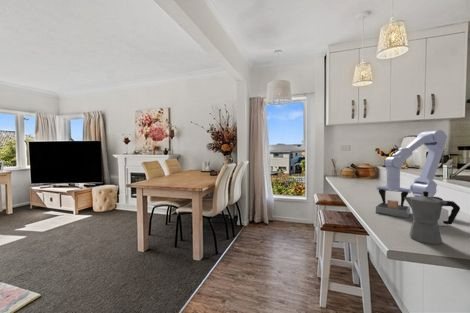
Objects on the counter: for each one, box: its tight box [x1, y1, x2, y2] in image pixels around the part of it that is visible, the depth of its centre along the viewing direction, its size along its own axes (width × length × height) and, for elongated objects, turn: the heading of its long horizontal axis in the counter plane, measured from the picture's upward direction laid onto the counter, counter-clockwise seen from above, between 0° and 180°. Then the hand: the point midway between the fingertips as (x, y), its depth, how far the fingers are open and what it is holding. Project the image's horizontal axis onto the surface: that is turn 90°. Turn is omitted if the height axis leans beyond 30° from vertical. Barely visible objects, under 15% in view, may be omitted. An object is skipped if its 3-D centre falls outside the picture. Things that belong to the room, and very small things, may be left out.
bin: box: [375, 202, 411, 219], centre depth 113 cm, size 13×12×4 cm
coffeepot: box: [404, 191, 461, 246], centre depth 78 cm, size 15×9×18 cm, turn 35°
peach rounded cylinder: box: [387, 199, 399, 210], centre depth 113 cm, size 5×5×6 cm
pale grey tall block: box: [428, 196, 449, 227], centre depth 97 cm, size 7×7×12 cm
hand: (392, 204), depth 113 cm, fingers open, 7 cm apart
